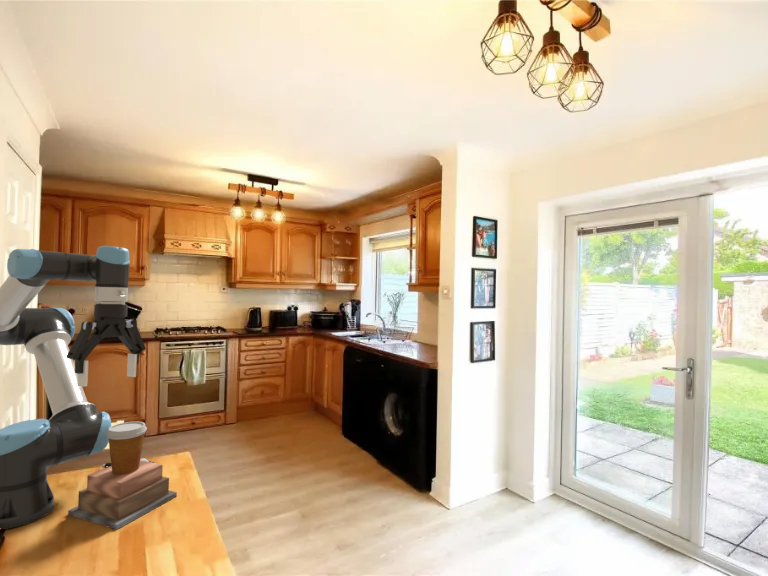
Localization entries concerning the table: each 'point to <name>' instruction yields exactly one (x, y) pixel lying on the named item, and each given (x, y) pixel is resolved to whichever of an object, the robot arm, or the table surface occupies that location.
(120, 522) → the pink brown stepped block
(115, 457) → the disposable coffee cup
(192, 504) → the table surface
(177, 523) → the table surface
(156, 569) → the table surface
